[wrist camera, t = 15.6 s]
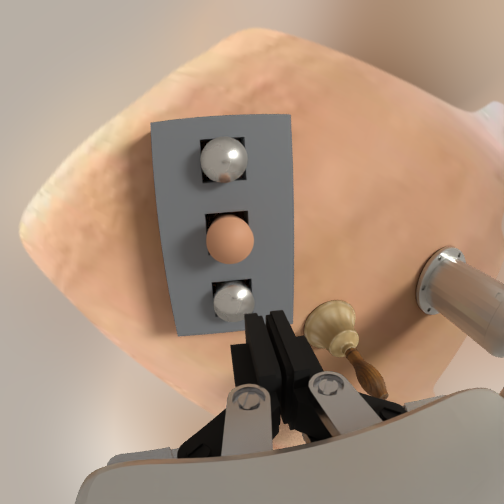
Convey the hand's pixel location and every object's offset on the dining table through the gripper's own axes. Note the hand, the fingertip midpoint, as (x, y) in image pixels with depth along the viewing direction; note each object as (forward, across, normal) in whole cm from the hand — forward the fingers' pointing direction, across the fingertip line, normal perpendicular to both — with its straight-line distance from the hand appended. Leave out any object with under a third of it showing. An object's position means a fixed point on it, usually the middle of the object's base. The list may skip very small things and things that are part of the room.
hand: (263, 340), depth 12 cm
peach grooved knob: (+20, +1, 0) cm, 20 cm away
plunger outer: (+22, +1, -8) cm, 23 cm away
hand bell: (+23, -13, +16) cm, 31 cm away
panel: (+22, 0, 0) cm, 22 cm away
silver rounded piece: (+22, +1, +7) cm, 23 cm away
